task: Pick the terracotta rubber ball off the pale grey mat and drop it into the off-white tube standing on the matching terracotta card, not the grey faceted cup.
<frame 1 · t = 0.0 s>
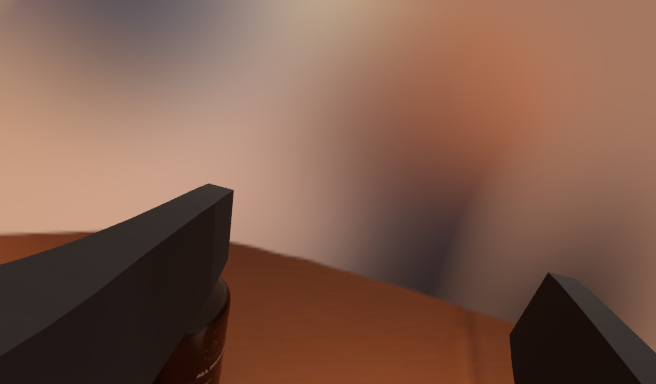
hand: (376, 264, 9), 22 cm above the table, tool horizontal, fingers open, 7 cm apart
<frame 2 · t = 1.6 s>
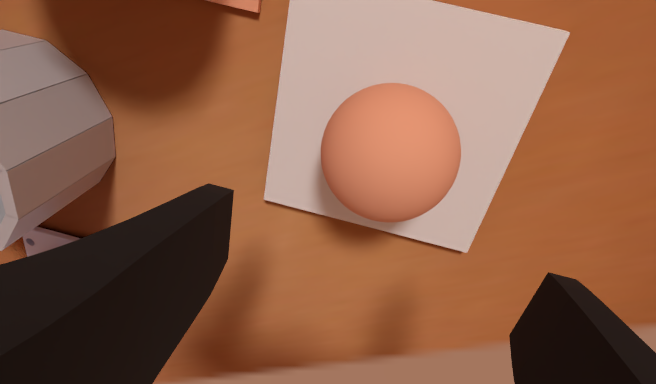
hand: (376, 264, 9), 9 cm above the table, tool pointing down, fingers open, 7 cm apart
grey faceted cup: (39, 117, 21), on the table
terracotta ball: (389, 153, 15), point 3 cm above the table, touching ball mat
ball mat: (392, 125, 18), on the table
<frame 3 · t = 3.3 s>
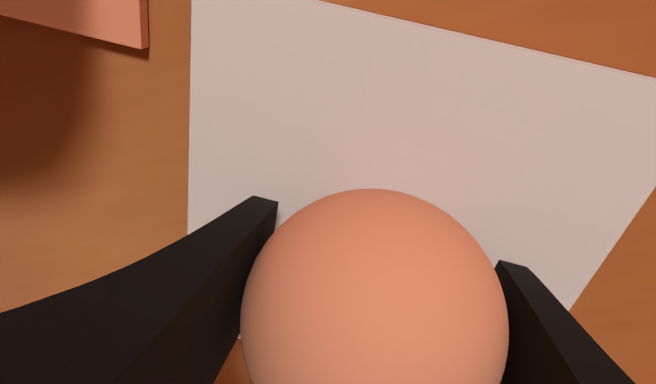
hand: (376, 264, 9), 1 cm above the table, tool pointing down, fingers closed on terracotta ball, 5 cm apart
terracotta ball: (370, 315, 8), point 3 cm above the table, touching ball mat, gripper
ball mat: (380, 230, 11), on the table
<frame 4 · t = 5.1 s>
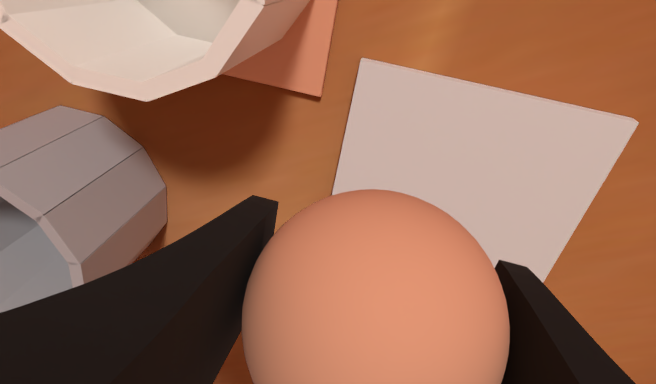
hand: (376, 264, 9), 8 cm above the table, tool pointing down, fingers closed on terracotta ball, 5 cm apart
grey faceted cup: (91, 185, 21), on the table
terracotta ball: (371, 316, 8), point 10 cm above the table, touching gripper
ball mat: (450, 200, 18), on the table
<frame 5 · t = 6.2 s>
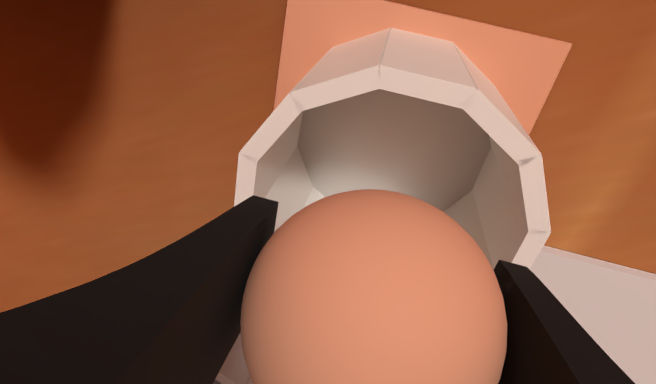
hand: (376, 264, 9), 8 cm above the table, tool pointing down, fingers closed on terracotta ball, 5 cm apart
grey faceted cup: (227, 309, 23), on the table
terracotta ball: (369, 315, 8), point 9 cm above the table, touching gripper
ball mat: (570, 345, 20), on the table
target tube: (390, 138, 16), on the table
when the fingers open (8 cm above the table, at t = 6.9 s): terracotta ball drops 6 cm, resting on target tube.
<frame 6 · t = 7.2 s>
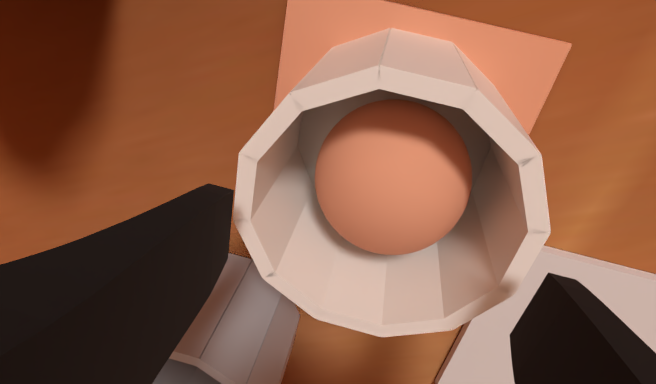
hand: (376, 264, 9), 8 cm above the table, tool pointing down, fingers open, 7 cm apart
grey faceted cup: (227, 309, 23), on the table
terracotta ball: (391, 177, 13), point 3 cm above the table, touching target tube
ball mat: (570, 345, 20), on the table
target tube: (390, 138, 16), on the table
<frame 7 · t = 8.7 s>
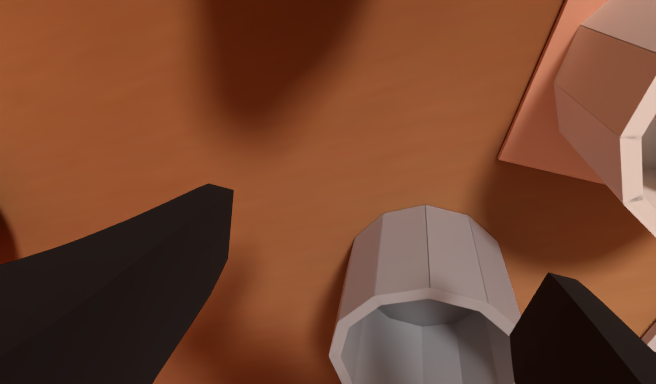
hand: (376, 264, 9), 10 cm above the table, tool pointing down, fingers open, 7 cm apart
grey faceted cup: (423, 271, 22), on the table
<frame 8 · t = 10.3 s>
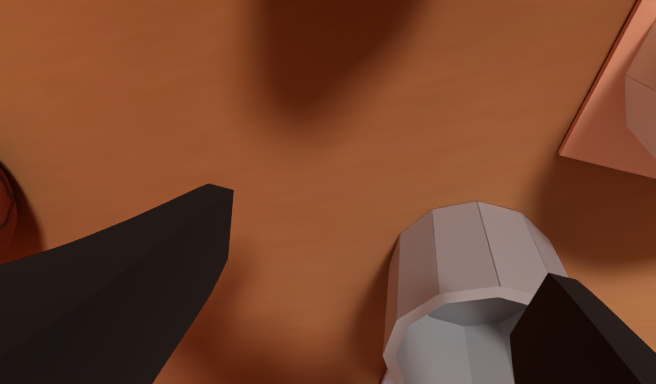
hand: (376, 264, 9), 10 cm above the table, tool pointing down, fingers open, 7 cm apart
grey faceted cup: (468, 269, 22), on the table
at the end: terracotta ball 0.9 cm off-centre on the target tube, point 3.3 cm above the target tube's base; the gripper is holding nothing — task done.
